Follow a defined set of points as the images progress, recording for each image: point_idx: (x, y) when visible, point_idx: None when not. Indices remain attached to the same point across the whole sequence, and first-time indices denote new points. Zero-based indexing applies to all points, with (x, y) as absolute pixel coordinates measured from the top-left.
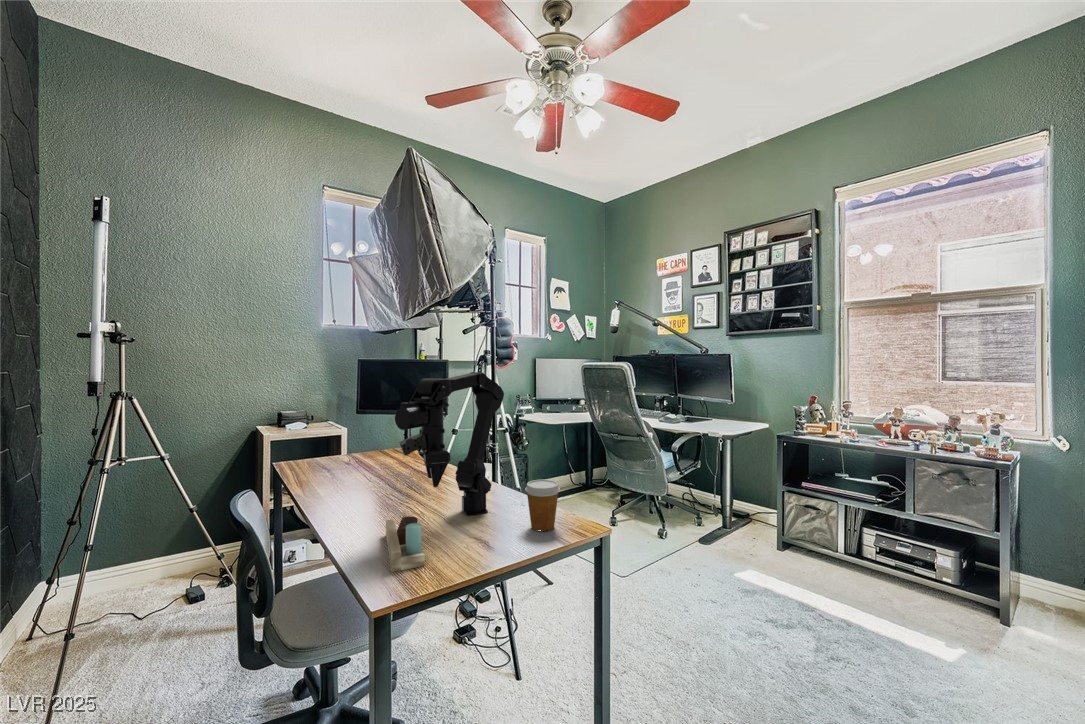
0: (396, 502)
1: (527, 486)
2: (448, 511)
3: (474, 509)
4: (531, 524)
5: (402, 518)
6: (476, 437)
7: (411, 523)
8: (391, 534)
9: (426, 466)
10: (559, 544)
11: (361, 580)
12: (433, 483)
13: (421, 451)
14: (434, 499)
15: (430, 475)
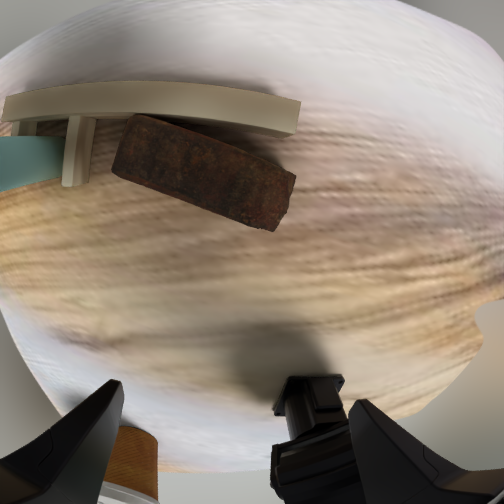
0: (492, 239)
1: (116, 497)
2: (358, 345)
3: (288, 400)
4: (132, 433)
5: (265, 164)
6: None
7: (3, 161)
8: (120, 91)
9: (400, 455)
10: (63, 413)
11: (42, 42)
12: (93, 394)
13: (500, 500)
14: (449, 328)
15: (357, 420)
